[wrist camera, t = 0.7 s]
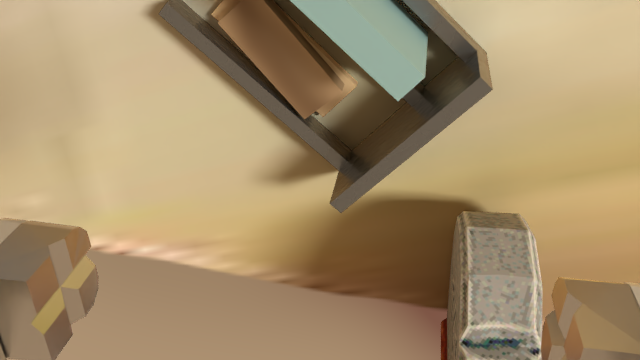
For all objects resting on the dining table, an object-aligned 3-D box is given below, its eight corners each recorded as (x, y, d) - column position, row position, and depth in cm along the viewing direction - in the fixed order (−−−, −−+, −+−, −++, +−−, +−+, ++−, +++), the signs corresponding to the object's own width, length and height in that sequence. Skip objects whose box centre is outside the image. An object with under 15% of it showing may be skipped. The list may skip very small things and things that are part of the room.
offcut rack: (285, -153, 40) (258, -145, 34) (486, 52, 45) (492, 89, 39) (168, 6, 48) (130, 35, 42) (352, 167, 53) (340, 213, 47)
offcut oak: (247, -28, 46) (242, -24, 45) (358, 79, 49) (356, 86, 48) (217, 8, 48) (211, 14, 46) (325, 109, 51) (323, 117, 50)
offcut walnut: (259, -16, 45) (254, -11, 43) (344, 84, 48) (342, 91, 46) (223, 17, 46) (217, 23, 45) (307, 111, 49) (304, 119, 48)
